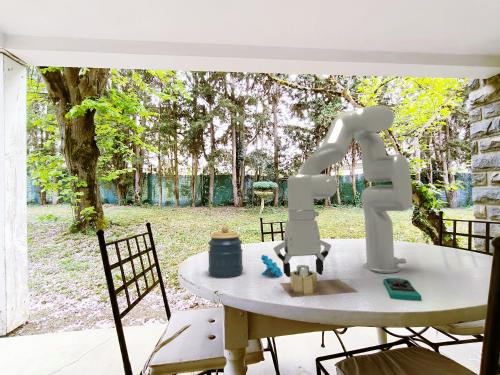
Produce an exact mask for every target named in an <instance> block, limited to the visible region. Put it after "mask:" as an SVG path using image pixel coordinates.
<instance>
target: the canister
mask: <svg viewBox="0 0 500 375" xmlns="http://www.w3.org/2000/svg"><path fill="white" fill-rule="evenodd" d="M240 237H241V235H240V233H237V232H236V231H234V230H232V231H230V230H229V227H227V226H225V225H224V226H222V227H221V231H216V232H213V234H211V235H210V240H209V241H208V242H207V244H208V245H209V247H208V248H209V249H208V251H207V253H208V267H207V268H208V274H209V276H211V277H214V278H223V279H225V278H226V279H227V278H234V277H237V276H240V275H242V274H243V270H244V265H243V252H244V250H243V249H242V244H243V240H241V239H240Z"/></svg>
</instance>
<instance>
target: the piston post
mask: <svg viewBox="0 0 500 375" xmlns="http://www.w3.org/2000/svg"><path fill="white" fill-rule="evenodd" d="M296 271H297V275H299V276H309V271H310V267H309V265H305V264H299V265H296Z"/></svg>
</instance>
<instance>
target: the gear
mask: <svg viewBox="0 0 500 375" xmlns="http://www.w3.org/2000/svg"><path fill="white" fill-rule="evenodd" d="M260 259H261V260H262V263H263V264H264V265H266V269H265V270H264V271H263V272H262V273H261V275H262V276H266V275H267V273H269V272H271V274H273V275H275V276H276V277H277V278H280V277H283V274H284V272H282V271H281V268H280V267H278V264H277V261H274V260H273V259H272V258H271V257H270V258H269V256H268V255H265V254H261V258H260ZM273 261H274V262H273Z"/></svg>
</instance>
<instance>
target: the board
mask: <svg viewBox="0 0 500 375" xmlns="http://www.w3.org/2000/svg"><path fill="white" fill-rule="evenodd" d="M279 285H280V286H281V287H282V288H283V290H284V291H286V293H287V294H288V296H290V297H291V298H299V297H300V298H302V297H312V296H327V295H338V294H350V293H351V294H352V293H360V291H359V290H357V289H355V288H353V287H352V286H350V285H348V284H347V283H346V282H344V281H342V280H341V279H339V278H337V279H336V278H335V279H324V280H323V279H321V280H317V292H316V293H314V294H310V295H301V294H296V293H293V292H292V291H291V282H280V283H279Z"/></svg>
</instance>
